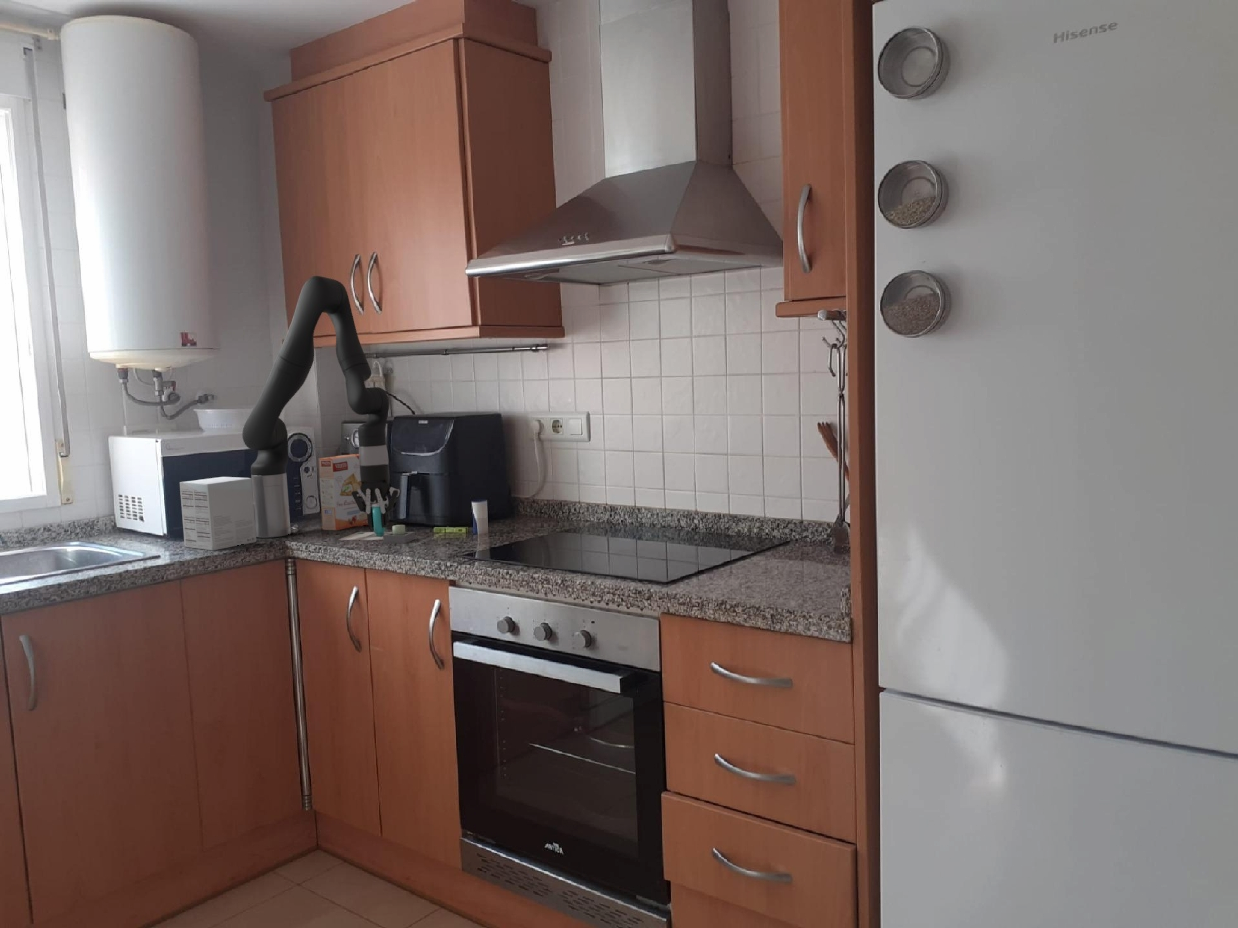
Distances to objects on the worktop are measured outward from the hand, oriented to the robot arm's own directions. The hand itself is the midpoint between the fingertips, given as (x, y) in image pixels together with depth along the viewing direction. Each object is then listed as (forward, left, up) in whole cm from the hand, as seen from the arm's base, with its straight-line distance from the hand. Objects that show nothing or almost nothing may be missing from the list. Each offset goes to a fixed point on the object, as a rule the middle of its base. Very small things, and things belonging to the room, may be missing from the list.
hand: (378, 526), depth 262 cm
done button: (+9, -8, -1) cm, 12 cm away
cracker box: (-18, +16, -3) cm, 24 cm away
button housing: (+9, -8, -3) cm, 12 cm away
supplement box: (-41, -10, -3) cm, 42 cm away
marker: (0, 0, -2) cm, 2 cm away
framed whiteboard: (-2, 0, -3) cm, 3 cm away
